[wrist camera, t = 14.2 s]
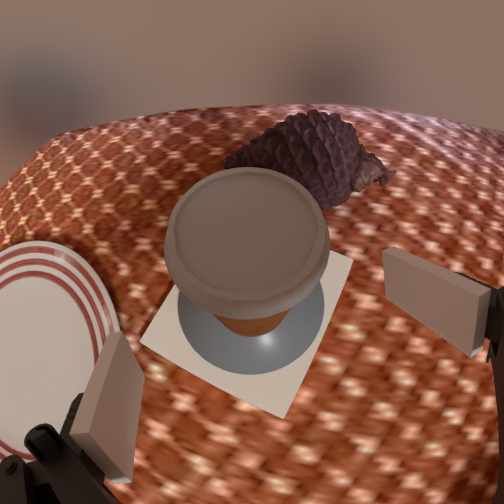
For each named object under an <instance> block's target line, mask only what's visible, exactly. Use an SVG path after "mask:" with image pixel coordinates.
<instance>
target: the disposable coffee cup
mask: <svg viewBox="0 0 504 504" xmlns="http://www.w3.org/2000/svg"><path fill="white" fill-rule="evenodd" d="M329 254H330V237H329V231H328V228H327V225H326V221H325V219H324V217H323V215H322V212H321V210H320V207H319V205H318V203H317V202H316V201H315V199H314V198H313V196H312V195H311V194H310V192H309V191H308V190H306V189H305V188H304V187H303V186H302V185H301V184H300V183H298V182H297V181H295V180H293V179H292V178H290V177H288V176H286V175H284V174H281V173H279V172H276V171H273V170H269V169H264V168H256V167H239V168H232V169H227V170H224V171H220V172H217V173H214V174H212V175H210V176H207V177H206V178H204V179H202V180H201V181H199V182H197V183H196V184H195V185H193V186H192V187H191V188H190V189H189V190H188V191H187V192H186V193H185V194H184V195H183V196H182V197H181V198H180V199H179V201H178V202H177V204H176V205H175V207H174V209H173V211H172V213H171V216H170V218H169V222H168V228H167V232H166V236H165V240H164V255H165V262H166V266H167V269H168V271H169V274H170V276H171V278H172V280H173V281H174V283H175V285H176V286H177V288H178V289H179V290H180V291H181V292H182V293H183V294H184V295H185V296H186V297H187V298H188V299H189V300H190V301H191V302H192V303H194V304H195V305H197V306H199V307H200V308H202V309H204V310H205V311H208V312H210V313H212V314H213V315H214V316H215V317H216V318H217V319H218V320H219V321H220V322H221V323H222V324H223V325H224V326H225V327H226V328H228V329H229V330H230V331H232V332H234V333H236V334H238V335H241V336H245V337H258V336H261V335H264V334H267V333H269V332H271V331H273V330H274V329H275V328H276V327H277V326H279V324H280V323H281V322H282V320H283V319H284V317H285V316H286V315H287V313H288V312H289V311H290V310H291V308H292V307H293V306H294V305H296V304H297V303H298V302H300V301H301V300H303V299H304V298H305V297H307V296H308V295H309V294H310V293H311V291H312V290H313V289H314V288H315V286H316V285H317V283H318V282H319V281H320V279H321V278H322V276H323V273H324V271H325V269H326V266H327V263H328V259H329Z"/></svg>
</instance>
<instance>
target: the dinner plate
mask: <svg viewBox="0 0 504 504" xmlns="http://www.w3.org/2000/svg"><path fill="white" fill-rule="evenodd" d="M118 331H120V326H119V322H118V318H117V315H116V311H115V308H114V305H113V303H112V300H111V298H110V296H109V293H108V291H107V289H106V287H105V285H104V284H103V282H102V280H101V279H100V277H99V276H98V274H97V273H96V271H95V270H94V269H93V268H92V267H91V266H90V264H89V263H88V262H87V261H86V260H85V259H83V258H82V257H81V256H80V255H79V254H77V253H76V252H74V251H73V250H71V249H69V248H67V247H65V246H63V245H60V244H57V243H54V242H49V241H28V242H23V243H20V244H17V245H14V246H11V247H9V248H7V249H5V250H3V251H2V252H0V463H1V461H2V460H3V459H4V458H5V457H7V456H9V455H14V454H15V455H19V456H20V457H21V458H22V459H23V460H24V461H25V462H26V463H28V462H31V461H35V460H37V459H36V458H35V457H34V456H33V455H32V454H31V453H30V452H29V450H28V449H27V448H26V447H25V446H24V439H25V436H26V435H27V433H28V432H29V431H30V430H31V429H32V428H33V427H35V426H37V425H39V424H43V423H47V424H51V425H52V426H53V427H54V428H55V430H56V431H57V432H58V433H59V434H60V432H61V429H62V426H63V423H64V421H65V419H66V416H67V413H68V412H69V408H70V406H71V403H72V401H73V400H74V399H75V398H76V396H77V395H78V394H79V393H84V392H85V389H86V387H87V384H88V382H89V379H90V377H91V374H92V372H93V369H94V367H95V364H96V362H97V360H98V357H99V355H100V352H101V350H102V348H103V345H104V343H105V341H106V339H107V336H108V334H111V333H115V332H118Z"/></svg>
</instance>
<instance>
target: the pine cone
mask: <svg viewBox="0 0 504 504" xmlns="http://www.w3.org/2000/svg"><path fill="white" fill-rule="evenodd" d="M307 115H308V116H306V115H305V114H303V113H297V114H296V115H294V116H292V115H289V116H287V117H286V119H285V121H284V122H279V123H277V124H276V125H275V126H274V127H273V128H268V129H266V130H265V132H264V133H263V135H262V136H259V137H256V138H255V139H252V140H250V144H248V145H243V146H242V147H241V148H240V150H237V151H234V152H231V156H227V157H226V158H225V161H224V162H223V166H224V168H225V169H226V170H227V169H232V168H239V167H256V168H264V169H269V170H273V171H276V172H279V173H281V174H284V175H286V176H288V177H290V178H292V179H293V180H295V181H297V182H298V183H300V184H301V185H302V186H303V187H304V188H305V189H306V190H308V191H309V192H310V194H311V195H312V196H313V198H314V199H315V201H316V202H317V203H318V205H319V207H321V208H322V209H323V210H326V211H327V210H329V209H331V206H338V205H340V204H341V203H342V202H346V201H347V200H348V199H349V195H350V194H351V193H352V192H354V191H356V192H360V191H361V190H362V189H363V188H365V189H368V188H369V186H370V182H377V181H379V183H380V185H382V186H384V185H386V184H387V183H388V181H389V177H390V176H393V175H394V174H395V173H396V170H394V171H390V172H388V169H387V168H385V167H384V165H383V164H382V162H381V161H380V160H379V159H378V158H376V157H375V154H373V153H370V154H369V153H367V152H366V151H365V147H364V146H363V144H359V141H358V140H359V139H358V136H357V135H356V130H355V128H353V125H352V124H351V123H346V122H344V121H342V120H341V118H340V115H339V114H337V113H331V114H330V115H328V114H327V113H326V112H321V113H319V112H318V111H317V110H316V109H312V110H309V111H308V112H307Z"/></svg>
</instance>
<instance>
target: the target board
mask: <svg viewBox="0 0 504 504" xmlns="http://www.w3.org/2000/svg"><path fill="white" fill-rule="evenodd" d="M352 262H353V259H351V258H348V257H346V256H344V255H341V254H339V253H337V252H334V251H332V250H330V254H329V259H328V263H327V266H326V269H325V271H324V273H323V276H322V278H321V279H320V281H319V282H318V283H317V285H316V286H315V288H314V289H313V290H312V291H311V293H310V294H309V295H308V296H307V297H305V298H304V299H303V300H301V301H300V302H298V303H297V304H296V305H294V306H293V307H292V308H291V310H290V311H289V312H288V313H287V315H286V316H285V317H284V319H283V320H282V322H281V323H280V324H279V326H277V327H276V328H275V329H274V330H273V331H271V332H269V333H267V334H264V335H261V336H258V337H245V336H241V335H238V334H236V333H234V332H232V331H230V330H229V329H228V328H226V327H225V326H224V325H223V324H222V323H221V322H220V321H219V320H218V319H217V318H216V317H215V316H214V315H213V314H212V313H210V312H208V311H205V310H204V309H202V308H200V307H199V306H197V305H195V304H194V303H192V302H191V301H190V300H189V299H188V298H187V297H186V296H185V295H184V294H183V293H182V292H181V291H180V290H179V289H178V288H177V286H176V285H174V286H173V288H172V290H171V291H170V293H169V294H168V296H167V298H166V299H165V301H164V302H163V304H162V306H161V307H160V309H159V310H158V312H157V314H156V315H155V317H154V318H153V320H152V322H151V323H150V325H149V327H148V328H147V330H146V332H145V333H144V335H143V336H142V338H141V340H140V341H139V342H141V343H142V344H144V345H145V346H147V347H148V348H150V349H152V350H153V351H155V352H156V353H158V354H160V355H161V356H163V357H165V358H166V359H168V360H170V361H171V362H173V363H175V364H176V365H178V366H180V367H181V368H183V369H185V370H187V371H188V372H190V373H192V374H194V375H196V376H197V377H199V378H201V379H203V380H205V381H206V382H208V383H210V384H212V385H214V386H216V387H218V388H220V389H222V390H223V391H225V392H227V393H229V394H231V395H233V396H235V397H237V398H239V399H241V400H243V401H245V402H247V403H250V404H252V405H254V406H256V407H258V408H260V409H262V410H264V411H267V412H269V413H271V414H273V415H275V416H278V417H280V418H282V419H284V417H285V415H286V413H287V411H288V409H289V407H290V405H291V403H292V401H293V399H294V397H295V395H296V393H297V391H298V389H299V387H300V385H301V383H302V381H303V379H304V377H305V375H306V372H307V370H308V368H309V366H310V364H311V362H312V359H313V357H314V355H315V353H316V351H317V348H318V346H319V344H320V342H321V339H322V337H323V335H324V332H325V330H326V328H327V325H328V323H329V321H330V318H331V316H332V314H333V311H334V309H335V306H336V304H337V301H338V299H339V296H340V294H341V291H342V289H343V286H344V284H345V281H346V278H347V276H348V273H349V270H350V268H351V265H352Z"/></svg>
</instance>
